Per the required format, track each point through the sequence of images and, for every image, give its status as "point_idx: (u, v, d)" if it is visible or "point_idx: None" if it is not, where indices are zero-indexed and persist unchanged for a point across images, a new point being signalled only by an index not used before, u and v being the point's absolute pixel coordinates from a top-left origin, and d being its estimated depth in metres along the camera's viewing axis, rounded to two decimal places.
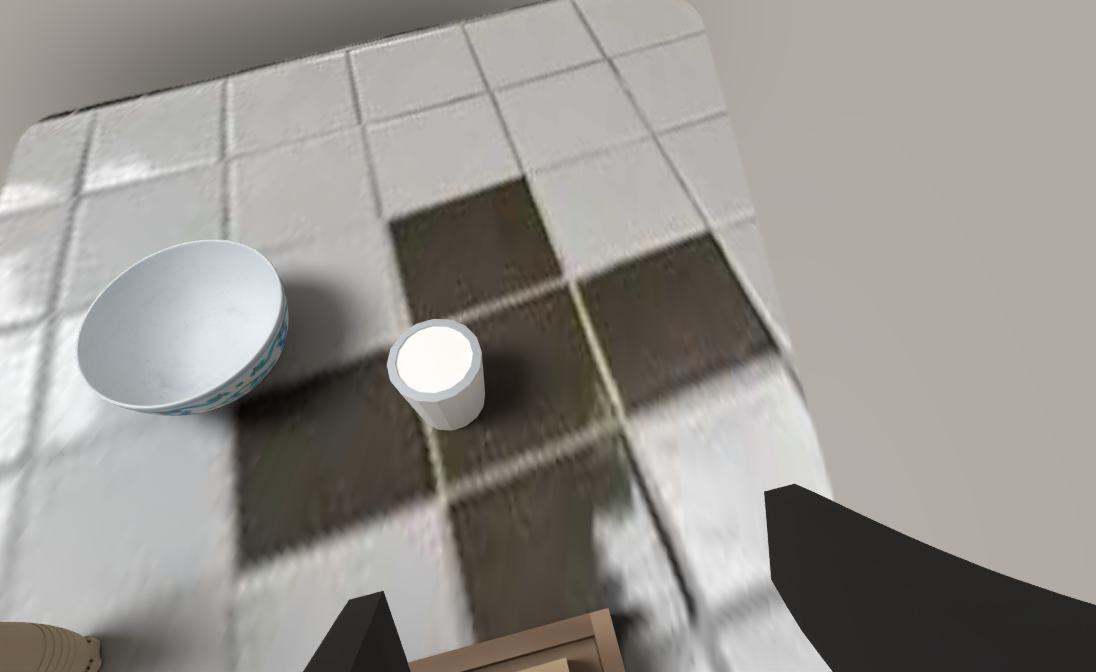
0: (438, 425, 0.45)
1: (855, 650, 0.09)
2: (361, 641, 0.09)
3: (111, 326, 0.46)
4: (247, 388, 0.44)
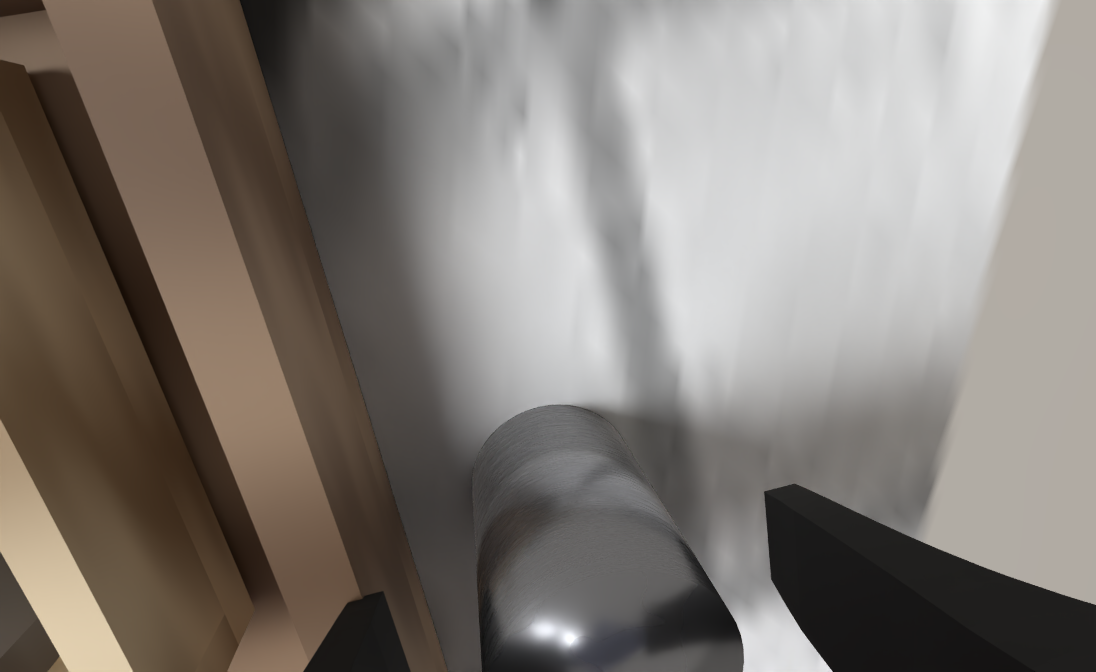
0: None
1: (855, 651, 0.09)
2: (361, 641, 0.09)
3: None
4: None
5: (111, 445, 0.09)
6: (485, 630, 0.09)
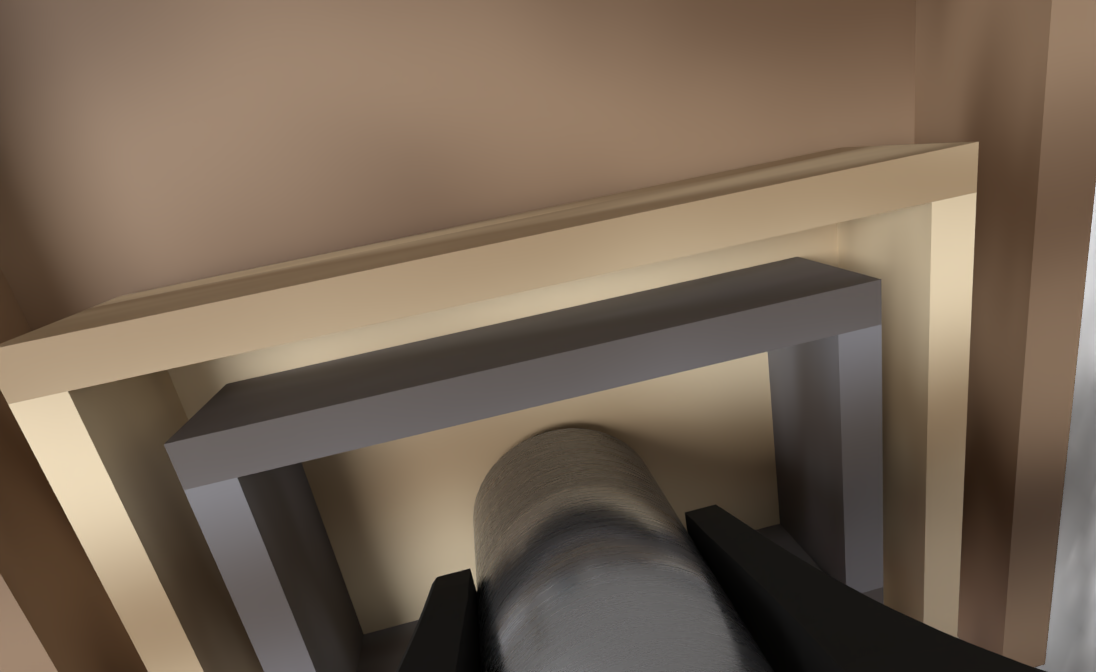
0: None
1: None
2: (463, 614, 0.09)
3: None
4: None
5: None
6: None
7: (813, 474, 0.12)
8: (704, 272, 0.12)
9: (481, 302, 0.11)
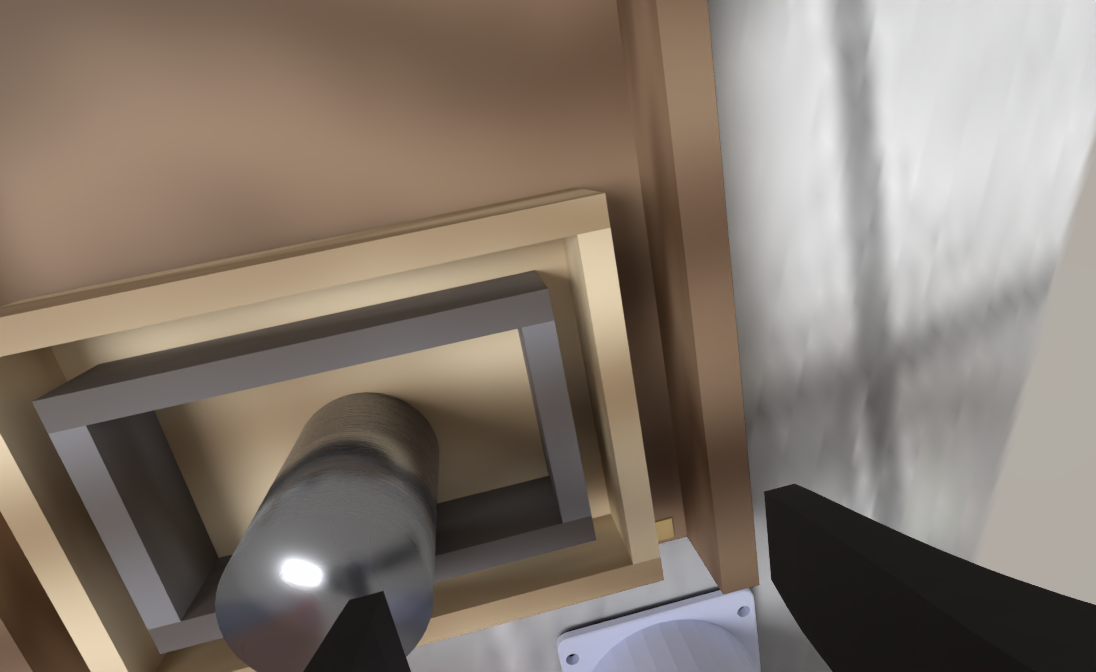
0: None
1: (855, 651, 0.09)
2: (361, 641, 0.09)
3: None
4: None
5: None
6: None
7: (542, 432, 0.16)
8: (461, 282, 0.16)
9: (289, 304, 0.15)
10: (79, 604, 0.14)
